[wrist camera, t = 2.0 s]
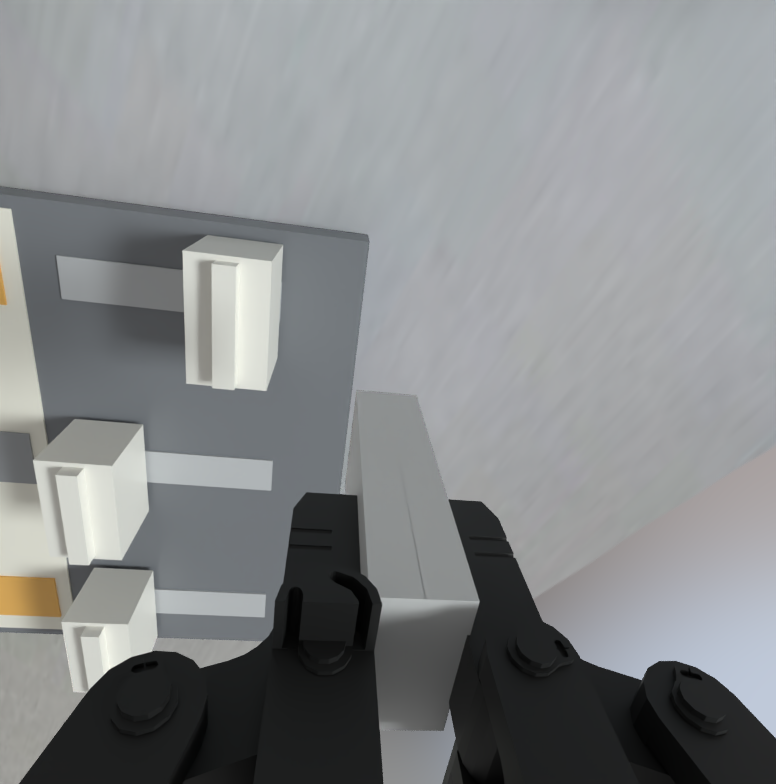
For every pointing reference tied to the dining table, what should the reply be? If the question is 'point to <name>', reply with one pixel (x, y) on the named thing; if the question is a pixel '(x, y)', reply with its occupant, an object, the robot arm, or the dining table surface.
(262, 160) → the dining table surface
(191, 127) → the dining table surface
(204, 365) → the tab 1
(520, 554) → the dining table surface
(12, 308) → the switch bank
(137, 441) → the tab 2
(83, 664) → the white plastic block
